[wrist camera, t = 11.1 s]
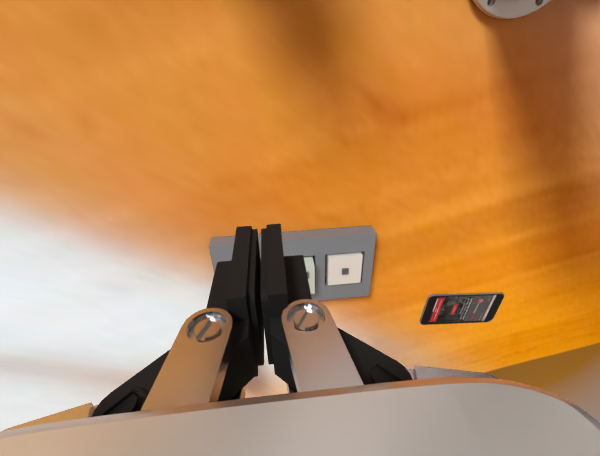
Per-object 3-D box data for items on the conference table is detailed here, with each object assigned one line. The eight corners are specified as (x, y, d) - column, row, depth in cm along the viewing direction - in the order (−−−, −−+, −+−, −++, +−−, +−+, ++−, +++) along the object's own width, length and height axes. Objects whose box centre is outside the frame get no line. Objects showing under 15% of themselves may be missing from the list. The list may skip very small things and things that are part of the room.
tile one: (358, 246, 47) (363, 256, 45) (356, 273, 50) (360, 283, 48) (325, 249, 47) (328, 259, 45) (325, 275, 49) (328, 286, 47)
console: (371, 225, 46) (376, 233, 44) (365, 286, 52) (369, 295, 50) (211, 237, 44) (208, 246, 42) (223, 299, 50) (222, 309, 48)
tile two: (312, 256, 45) (314, 267, 43) (312, 283, 48) (315, 294, 46) (277, 259, 45) (278, 270, 43) (279, 286, 48) (280, 298, 45)
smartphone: (429, 295, 54) (505, 293, 56) (427, 293, 55) (503, 291, 57) (419, 324, 58) (491, 322, 60) (418, 322, 59) (489, 319, 60)
